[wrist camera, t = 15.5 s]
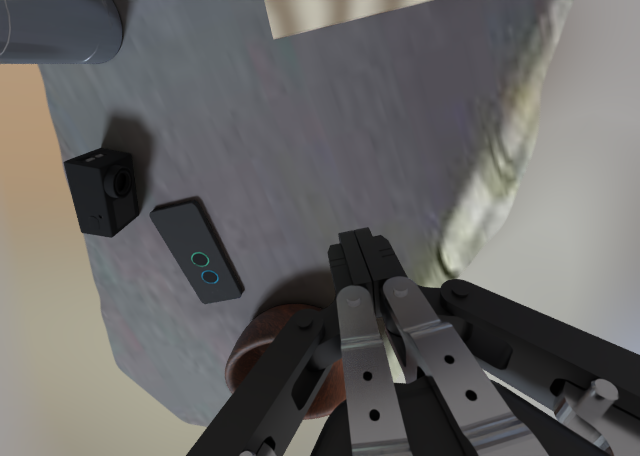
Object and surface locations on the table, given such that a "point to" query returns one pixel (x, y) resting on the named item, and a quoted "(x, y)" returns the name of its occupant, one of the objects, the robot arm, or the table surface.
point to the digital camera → (103, 191)
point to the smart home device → (197, 251)
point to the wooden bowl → (259, 340)
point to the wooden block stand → (324, 13)
